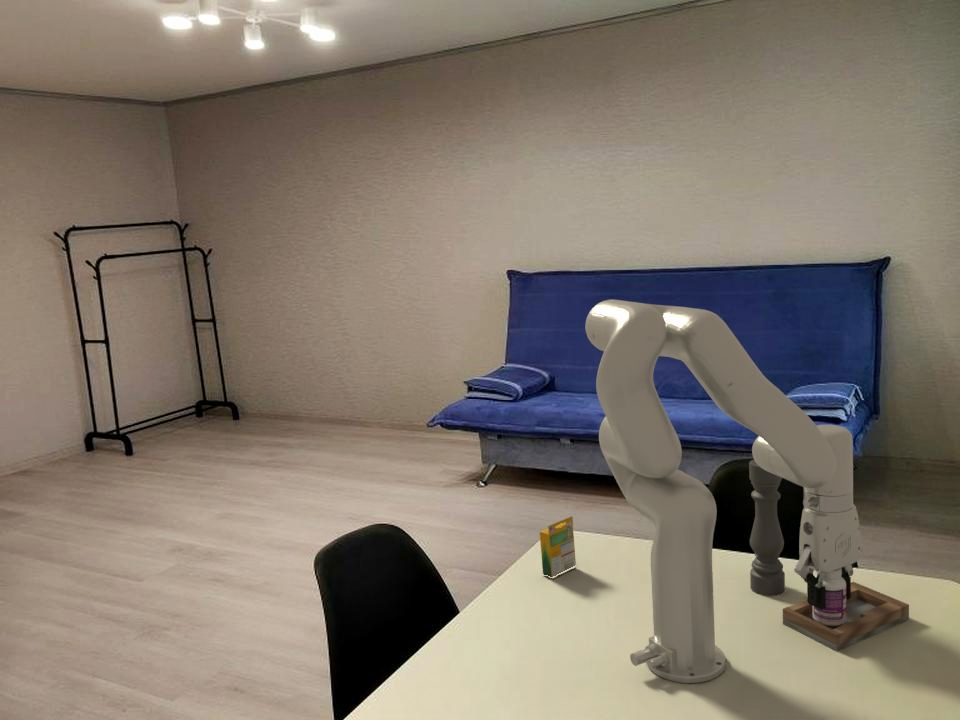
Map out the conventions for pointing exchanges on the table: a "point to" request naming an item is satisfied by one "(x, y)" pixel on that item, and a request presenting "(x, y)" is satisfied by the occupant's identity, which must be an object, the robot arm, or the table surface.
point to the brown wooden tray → (849, 618)
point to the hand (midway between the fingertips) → (829, 600)
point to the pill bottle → (832, 600)
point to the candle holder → (766, 534)
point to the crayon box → (558, 547)
